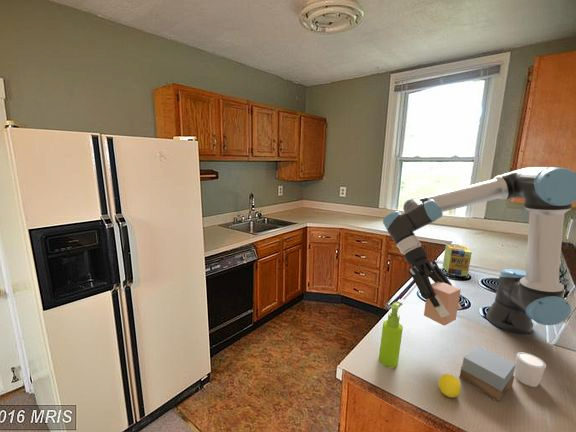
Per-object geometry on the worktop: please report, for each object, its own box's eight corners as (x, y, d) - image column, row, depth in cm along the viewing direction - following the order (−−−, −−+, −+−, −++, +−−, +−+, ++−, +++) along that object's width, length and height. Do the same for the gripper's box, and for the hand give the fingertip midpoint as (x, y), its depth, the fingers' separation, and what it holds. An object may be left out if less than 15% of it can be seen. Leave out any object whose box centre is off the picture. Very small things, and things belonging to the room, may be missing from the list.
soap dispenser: (401, 359, 91) (409, 304, 87) (393, 370, 86) (401, 312, 82) (384, 350, 95) (391, 297, 91) (375, 361, 90) (382, 305, 86)
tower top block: (474, 355, 89) (477, 344, 88) (512, 375, 81) (515, 363, 81) (461, 368, 83) (463, 357, 82) (501, 391, 75) (504, 378, 75)
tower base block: (474, 366, 90) (477, 355, 89) (511, 387, 82) (514, 376, 81) (459, 378, 85) (461, 367, 84) (496, 402, 77) (499, 390, 76)
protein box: (447, 274, 164) (451, 249, 161) (442, 265, 178) (446, 242, 175) (467, 277, 161) (472, 252, 158) (460, 268, 175) (464, 244, 172)
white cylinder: (527, 371, 88) (531, 351, 87) (547, 388, 82) (553, 368, 80) (506, 370, 88) (510, 351, 87) (525, 388, 81) (530, 367, 80)
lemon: (457, 407, 75) (460, 392, 73) (435, 396, 78) (437, 381, 76) (461, 388, 80) (463, 374, 78) (440, 379, 83) (442, 365, 82)
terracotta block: (435, 309, 98) (439, 281, 96) (455, 319, 92) (460, 289, 90) (423, 315, 94) (427, 285, 92) (444, 325, 88) (449, 294, 86)
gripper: (420, 251, 108) (457, 308, 97) (387, 260, 97) (425, 325, 87) (435, 241, 102) (476, 301, 92) (402, 250, 92) (444, 318, 81)
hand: (451, 312), depth 89 cm, fingers closed on terracotta block, 7 cm apart
